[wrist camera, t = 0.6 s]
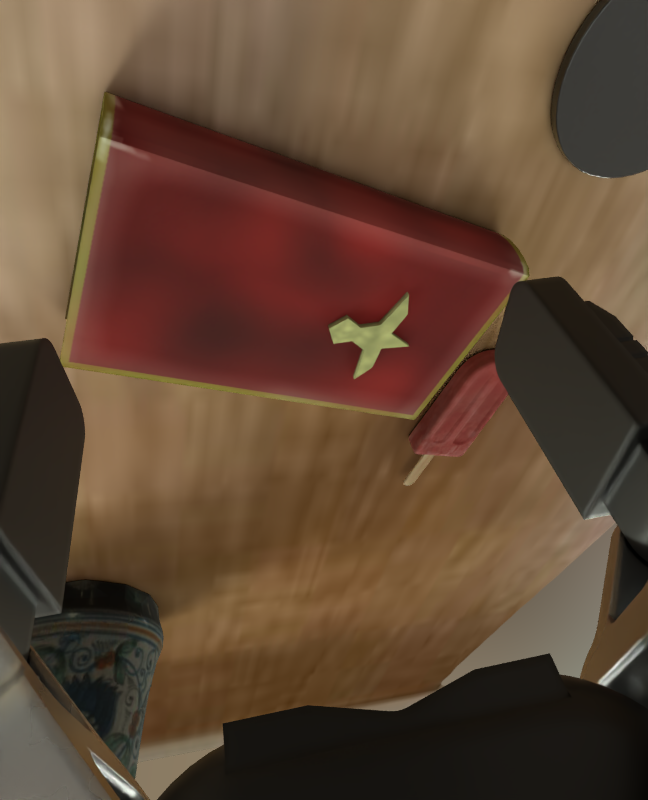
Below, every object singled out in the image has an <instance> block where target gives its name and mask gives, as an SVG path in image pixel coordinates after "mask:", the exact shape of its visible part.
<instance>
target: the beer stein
mask: <svg viewBox="0 0 648 800" xmlns="http://www.w3.org/2000/svg"><path fill="white" fill-rule="evenodd" d="M30 645H31V646H32V647H33V648H34V650H35V651H36V652H37V654H38V655H39V656H40V658H41V659H42V660H43V662H44V663H45V664H46V666H47V667H48V668H49V670H50V671H51V672H52V674H53V675H54V676H55V678H56V679H57V680H58V682H59V683H60V684H61V686H62V687H63V688H64V690H65V691H66V692H67V694H68V695H69V696H70V698H71V699H72V701H73V702H74V703H75V705H76V706H77V707H78V709H79V710H80V711H81V713H82V714H83V715H84V717H85V718H86V719H87V721H88V722H89V723H90V725H91V726H92V727H93V729H94V730H95V731H96V733H97V734H98V735H99V737H100V738H101V739H102V740H103V742H104V743H105V744H106V745H107V746H108V748H109V749H110V750H111V751H112V752H113V753H114V755H115V756H116V757H117V758H118V759H119V760H120V762H121V763H122V764H123V765H124V767H125V768H126V769H127V770H128V772H129V773H130V774H131V775H132V777H133V778H134V779H135V775H136V769H137V762H138V755H139V748H140V742H141V735H142V729H143V723H144V717H145V712H146V705H147V700H148V695H149V690H150V687H151V683H152V678H153V674H154V670H155V666H156V663H157V660H158V658H159V655H160V653H161V650H162V647H163V631H162V627H161V624H160V620H159V611H158V606H157V605H156V603H155V602H154V600H153V599H152V597H151V596H150V595H149V594H147V593H145V592H142V591H140V590H137V589H135V588H133V587H130V586H128V585H125V584H116V583H108V582H100V581H91V580H81V581H74V582H67V583H65V590H64V597H63V605H62V612H61V613H60V614H54V615H49V616H43V617H38V618H35V619H34V625H33V631H32V637H31V643H30Z"/></svg>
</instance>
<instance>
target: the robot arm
mask: <svg viewBox="0 0 648 800" xmlns="http://www.w3.org/2000/svg"><path fill="white" fill-rule="evenodd" d="M495 366H496V371H497V374H498V377H499V379H500V381H501V382H502V384H503V386H504V387H505V389H506V391H507V392H508V394H509V396H510V397H511V399H512V401H513V402H514V404H515V406H516V407H517V409H518V411H519V412H520V414H521V416H522V417H523V419H524V421H525V422H526V424H527V426H528V427H529V429H530V431H531V432H532V434H533V436H534V437H535V439H536V441H537V442H538V444H539V446H540V447H541V449H542V451H543V452H544V454H545V456H546V457H547V459H548V461H549V462H550V464H551V466H552V467H553V469H554V471H555V472H556V474H557V476H558V477H559V479H560V481H561V482H562V484H563V486H564V487H565V489H566V491H567V492H568V494H569V496H570V497H571V499H572V501H573V502H574V504H575V506H576V507H577V509H578V510H579V512H580V514H581V515H582V517H583V519H584V520H585V519H590V518H596V517H601V516H607V515H611V516H612V517H613V519H614V520H615V522H616V523H617V527H616V528H615V530H614V532H613V534H612V537H611V543H610V549H609V555H608V562H607V568H606V575H605V581H604V588H603V594H602V601H601V607H600V613H599V620H598V626H597V631H596V634H595V638H594V641H593V643H592V646H591V648H590V650H589V653H588V655H587V657H586V660H585V663H584V665H583V669H582V672H581V676H580V678H575V677H571V676H566V675H560V674H559V672H558V670H557V668H556V666H555V663H554V661H553V659H552V657H551V655H550V654H545V655H540V656H536V657H531V658H526V659H522V660H517V661H512V662H508V663H503V664H499V665H494V666H489V667H484V668H480V669H475V670H473V671H471V672H470V673H468V674H466V675H464V676H462V677H460V678H459V679H457V680H455V681H453V682H451V683H450V684H448V685H446V686H444V687H443V688H441V689H439V690H437V691H436V692H434V693H432V694H430V695H428V696H427V697H425V698H423V699H421V700H420V701H418V702H416V703H414V704H413V705H411V706H409V707H407V708H405V709H403V710H399V711H378V710H364V709H350V708H337V707H323V706H309V705H307V706H303V707H298V708H293V709H289V710H284V711H279V712H275V713H270V714H265V715H261V716H256V717H252V718H247V719H242V720H238V721H233V722H228V723H224V724H223V735H224V745H222V746H221V747H219V748H217V749H215V750H213V751H212V752H210V753H208V754H207V755H205V756H204V757H203V758H201V759H200V760H198V761H197V762H196V763H194V764H193V765H192V766H190V767H189V768H188V769H187V770H186V771H185V772H183V774H181V775H180V776H179V777H178V778H177V779H176V780H175V781H174V782H172V784H170V786H169V787H168V788H167V789H166V790H165V791H164V792H163V794H162V795H161V796H160V797H159V798H158V799H157V800H648V352H647V351H646V349H645V348H644V347H643V346H642V345H641V344H640V343H639V342H638V341H637V340H633V335H632V334H631V333H630V332H629V331H628V330H627V329H626V328H625V326H624V325H623V324H622V323H621V322H620V321H619V320H618V319H617V318H616V317H615V316H614V315H612V314H610V313H609V312H607V311H605V310H604V309H602V308H600V307H599V306H597V305H595V304H594V303H592V302H590V301H583V299H582V298H581V297H580V296H579V295H578V294H577V293H576V291H575V290H574V289H573V288H572V287H571V286H570V285H569V283H568V282H567V281H566V280H565V279H563V278H562V277H550V278H542V279H534V280H526V281H519V282H517V283H515V284H514V286H513V287H512V289H511V292H510V295H509V299H508V302H507V306H506V310H505V313H504V317H503V321H502V324H501V328H500V332H499V335H498V339H497V343H496V347H495ZM84 440H85V426H84V418H83V413H82V410H81V406H80V404H79V401H78V399H77V397H76V395H75V392H74V390H73V388H72V386H71V384H70V381H69V379H68V377H67V375H66V373H65V370H64V368H63V366H62V364H61V362H60V359H59V357H58V355H57V353H56V351H55V349H54V347H53V345H52V343H51V342H50V341H49V340H48V339H46V338H42V339H34V340H26V341H18V342H9V343H1V344H0V800H150V799H149V798H148V796H147V795H146V794H145V793H144V791H143V790H142V788H141V787H140V786H139V784H138V783H137V782H136V781H135V779H134V778H133V777H132V775H131V774H130V773H129V772H128V770H127V769H126V768H125V767H124V765H123V764H122V763H121V762H120V760H119V759H118V758H117V757H116V756H115V755H114V753H113V752H112V751H111V750H110V749H109V748H108V746H107V745H106V744H105V743H104V742H103V740H102V739H101V738H100V737H99V735H98V734H97V733H96V731H95V730H94V729H93V727H92V726H91V725H90V723H89V722H88V721H87V719H86V718H85V717H84V715H83V714H82V713H81V711H80V710H79V709H78V707H77V706H76V705H75V703H74V702H73V701H72V699H71V698H70V696H69V695H68V694H67V692H66V691H65V690H64V688H63V687H62V686H61V684H60V683H59V682H58V680H57V679H56V678H55V676H54V675H53V674H52V672H51V671H50V670H49V668H48V667H47V666H46V664H45V663H44V662H43V660H42V659H41V658H40V656H39V655H38V654H37V652H36V651H35V650H34V648H33V647H32V646H31V645H30V643H31V637H32V631H33V625H34V619H35V618H38V617H43V616H49V615H54V614H60V613H61V612H62V605H63V597H64V590H65V582H66V575H67V567H68V560H69V552H70V545H71V537H72V530H73V522H74V515H75V507H76V500H77V492H78V485H79V478H80V470H81V463H82V455H83V448H84Z"/></svg>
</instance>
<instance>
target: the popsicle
mask: <svg viewBox="0 0 648 800" xmlns="http://www.w3.org/2000/svg"><path fill="white" fill-rule="evenodd" d="M507 395H508V392H507V391H506V389H505V387H504V386H503V384H502V382H501V381H500V379H499V377H498V374H497V371H496V366H495V349H494V350H487V351H483V352H480V353H478V354H476V355H474V356H472V357H471V358H469V359H468V360H467V361H466V362H465V363H464V364H463V365H462V366H461V367H460V368H459V369H458V371H457V372H456V373H455V375H454V376H453V377H452V379H451V380H450V381H449V383H448V384H447V385H446V387H445V388H444V389H443V391H442V392H441V394H440V395H439V396H438V398H437V399H436V400H435V402H434V403H433V404H432V406H431V407H430V408H429V410H428V411H427V413H426V414H425V415H424V417H423V418H422V419H421V421H420V422H419V423H418V425H417V426H416V427H415V429H414V430H413V431H412V433H411V434H410V436H409V441H410V444H411V446H412V449H413V451H414V453H415V454H423V455H422V457H421V458H420V459H419V461H418V462H417V464H416V465H415V466H414V468H413V469H412V470H411V472H410V473H409V474H408V476H407V477H406V479H405V480H404V485H406V486H408V485H411V484H413V483H414V482H415V481H416V479H417V478H418V477H419V475H420V474H421V473H422V471H423V470H424V469H425V467H426V466H427V465H428V463H429V462H430V461H431V459H432V458H433V457H434V455H440V456H456V457H459V456H462V455H463V454H464V453H465V452H466V450H467V449H468V447H469V446H470V445H471V443H472V442H473V441H474V439H475V438H476V437H477V435H478V434H479V433H480V431H481V430H482V429H483V427H484V426H485V425H486V423H487V422H488V421H489V419H490V418H491V417H492V415H493V414H494V413H495V411H496V410H497V409H498V407H499V406H500V405H501V403H502V402H503V401H504V399H505V398H506V397H507Z"/></svg>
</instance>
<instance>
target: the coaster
mask: <svg viewBox="0 0 648 800" xmlns="http://www.w3.org/2000/svg"><path fill="white" fill-rule="evenodd" d="M551 120H552V129H553V134H554V138H555V141H556V143H557V146H558V148H559V149H560V151H561V153H562V154H563V156H564V157H565V158H566V159H567V160H568V161H569V162H570V163H571V164H572V165H573V166H574V167H576V168H577V169H579V170H580V171H582V172H584V173H586V174H588V175H591V176H595V177H600V178H619V177H626V176H630V175H634V174H637V173H640V172H644V171H646V170H648V0H600V1H599V2H598V3H597V5H596V6H595V7H594V9H593V10H592V11H591V13H590V14H589V15H588V17H587V18H586V19H585V21H584V22H583V24H582V25H581V27H580V29H579V30H578V32H577V33H576V35H575V37H574V39H573V41H572V42H571V44H570V46H569V48H568V50H567V52H566V55H565V57H564V59H563V62H562V64H561V67H560V69H559V73H558V76H557V79H556V82H555V87H554V92H553V97H552V107H551Z"/></svg>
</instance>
